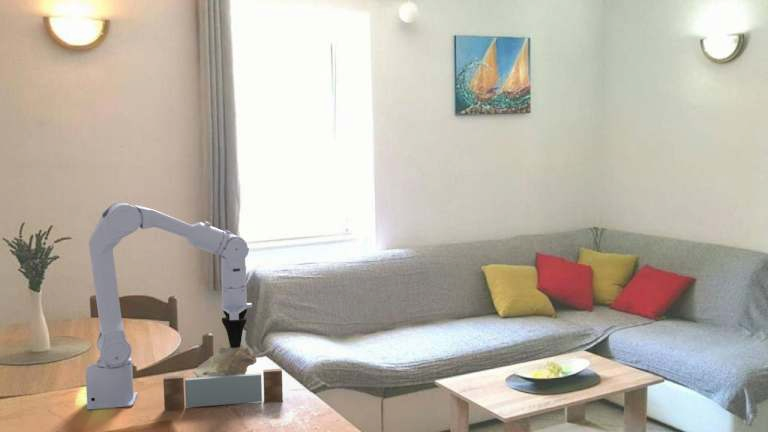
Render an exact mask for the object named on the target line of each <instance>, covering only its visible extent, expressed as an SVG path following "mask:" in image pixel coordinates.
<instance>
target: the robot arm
mask: <svg viewBox="0 0 768 432" xmlns="http://www.w3.org/2000/svg"><path fill="white" fill-rule="evenodd" d="M139 228H140V229H142V230H147V229H151V228H156V229H160V230H163V231H166V232H169V233H171V234H175V235H178V236H180V237H183V238H186V239H187V241H188V243H189V245H190V246H192V247H194V248H197V249H200V250H203V251H205V252H208V253H209V254H210V253H211V254H213V255H219V256H221V257H220V259H221V261H220V263H221V265H220V277H221V278H220V279H221V305H220V307H221V310H222V311H223V314H224V315H225V317H222V318H221V323H222V325H223V326H224V328H225V330H226V334H227V337H228V343H229V347H231V348H239V347H240V345H241V346H242V338H243V337H242V336H243V331H244V328H245V325H246V323H247V320H248V319H247V318H248V317H246V315H247V312H248V309H249V308H253V303H252V302H248V299H247V298H248V295H247V294H248V291H247V266H246V258H247V257H248V255H249V251H250V248H249V247H248V243H247V242H246V241H245V239H244V238H242V237H241V236H237V235H235V234H234V233H232V232H231V231H230V230H228V229H225V230H222V229H219V228H217V227H215V226H212V223H211V222H208V221H204V223H203V222H201V221H198V222H196V223H193V224H190V223H187V222H184V221H182V220H180V219H179V218H178V219H177V218H176V217H173V216H170V215H168V214H166V213H163V212H160V211H158V210H155V209H153V208H149V207H145V206H141V205H136V204H133V205H132V204H130V203H128V202H125V201H117V202H114V203H112V204H111V205H110V206H109V207H107V209H105V210H104V211H103V212H102V213H101V214H100V218H99V220H98V222H97V224H96V225H95V227H94V230H93V232H92V234H91V235H90V237H89V240H88V247H89V255H90V263H91V264H90V265H91V269H92V271H91V272H92V275H93V276H92V278H93V285H94V292H95V293H94V294H95V299H96V307H97V314H98V326H99V334H98V336H97V341H96V346H97V347H96V348H97V350H98V351H99V354H100V356H99V358H98V359H97V360H96V363H92V364H91V363H90V364H88V365H87V368H86V372H85V388H86V389H85V391H86V404H87V406H86V410H99V409H112V408H113V409H114V408H124V407H125V408H126V407H127V408H128V407H133V406H134V403H135V402H136V399H137V396H138V392H137V391H134V378H133V376H134V375H133V360H132V357H131V355H132V346H131V344H130V343H129V341H128V339H127V336H126V333H125V328H124V324H123V323H124V322H123V319H122V312H121V303H120V297H119V296H120V294H119V290H118V288H119V287H118V281H117V274H116V273H117V272H116V265H115V258H114V257H115V256H114V249H115V247H117V245H118V244H119V243H121V241H122V240H123V239H124V238H125V237H127V236H129V235H131V234H133V233H135V232H137V230H138V229H139Z"/></svg>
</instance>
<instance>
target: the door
mask: <svg viewBox="0 0 768 432" xmlns="http://www.w3.org/2000/svg"><path fill="white" fill-rule="evenodd" d="M262 389H263V388H262V373H261V372H260V373H259V372H257V373H256V372H255V373H245V374H242V375H227V376H213V377H199V378H197V377H188V378H187V377H186V378H185V377H184V397H185V407H186V408H195V407H206V406H207V407H209V406H220V405H221V406H222V405H223V406H224V405H234V404H247V403H258V402H260V403H261V402H263V391H262Z"/></svg>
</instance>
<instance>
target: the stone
mask: <svg viewBox="0 0 768 432" xmlns="http://www.w3.org/2000/svg"><path fill="white" fill-rule="evenodd" d="M256 363H257V357H256V356H255V354H254V353H253V352H251V350H250V348H249V347H248V346H244V345H242V344H241V345H240V347H239V348H231V347H230V346H229V347H225V348H224V347H223V346H220V347H219V349H218V351H217V352H216V354H215V355H212V356H210V357H209V358H208V359H206V360H204V362H202V363H201V364H199V365H198V366H197V368H196V369H194V370H193V372H192V373H193V374H194V375H195V376H196V378H199V377H213V376H227V375H242V374H247V371H248V367H249V366H252V365H254V364H256Z"/></svg>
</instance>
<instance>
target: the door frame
mask: <svg viewBox="0 0 768 432" xmlns="http://www.w3.org/2000/svg"><path fill="white" fill-rule="evenodd" d="M262 372H263V374H262V375H263V403H264V404H268V403H269V404H270V403H280V402H281V403H282V402H283V401H284V398H283V395H284V394H283V393H284V392H283V368H270V369H263V371H262ZM162 379H163V382H162V383H163V400H164V401H163V402H164V403H163V404H164V412H166V411H167V412H168V411H180V410H181V411H182V410H185V407H186V403H185V377H184V375H171V376H169V375H167V376H164V377H163V378H162Z"/></svg>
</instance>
